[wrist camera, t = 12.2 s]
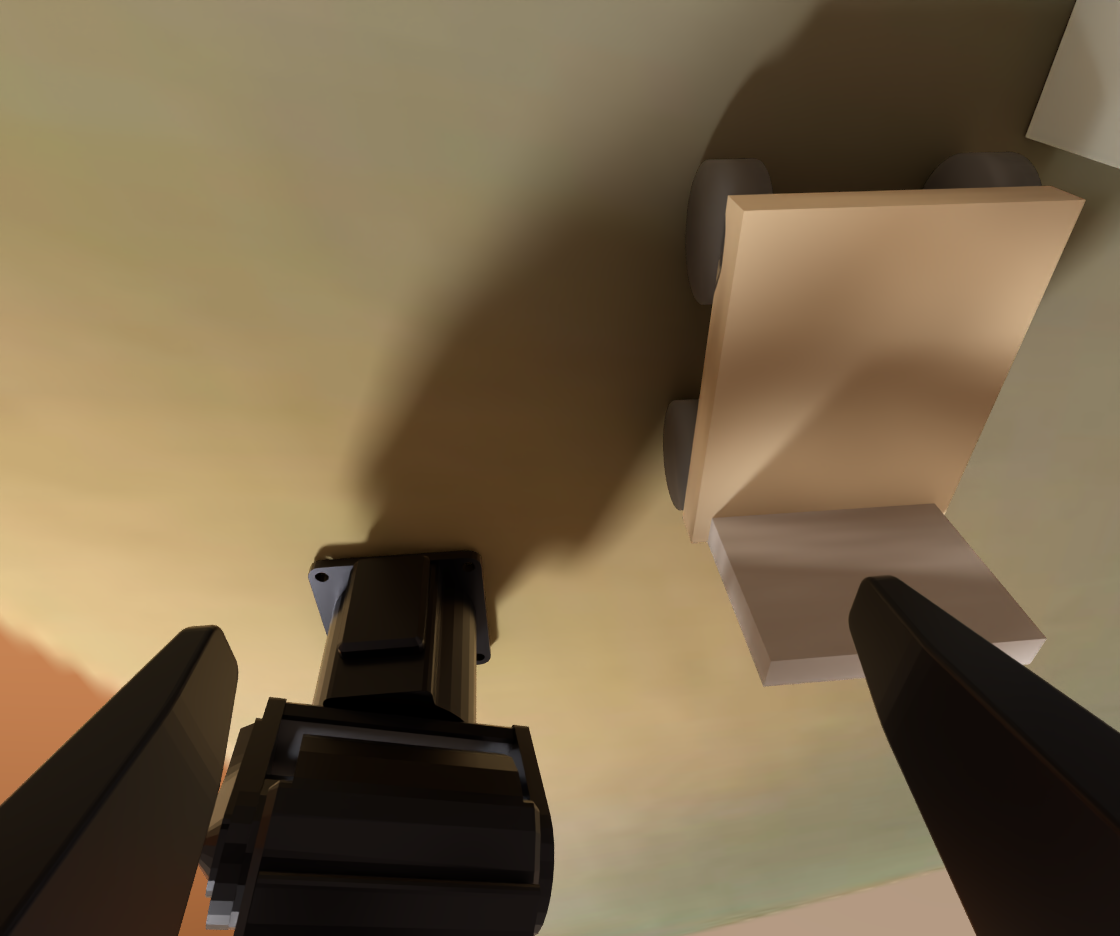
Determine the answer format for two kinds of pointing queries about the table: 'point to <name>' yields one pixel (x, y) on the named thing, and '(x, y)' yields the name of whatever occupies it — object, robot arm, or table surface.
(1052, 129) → the tray
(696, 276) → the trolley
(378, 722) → the robot arm
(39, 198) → the table surface
